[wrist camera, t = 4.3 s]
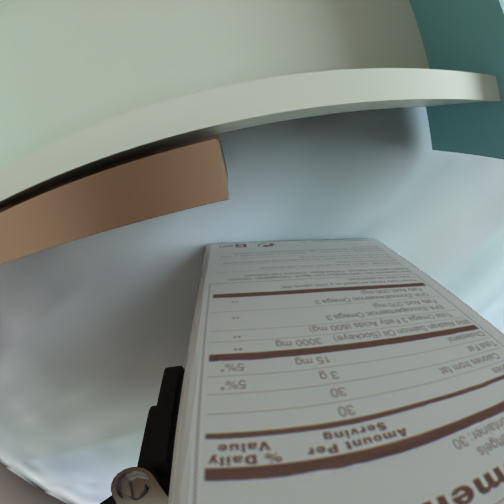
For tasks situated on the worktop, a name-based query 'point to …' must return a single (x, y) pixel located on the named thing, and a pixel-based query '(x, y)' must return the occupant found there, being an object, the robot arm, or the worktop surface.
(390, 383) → the supplement box
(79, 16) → the tray
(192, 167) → the organizer
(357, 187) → the worktop surface
